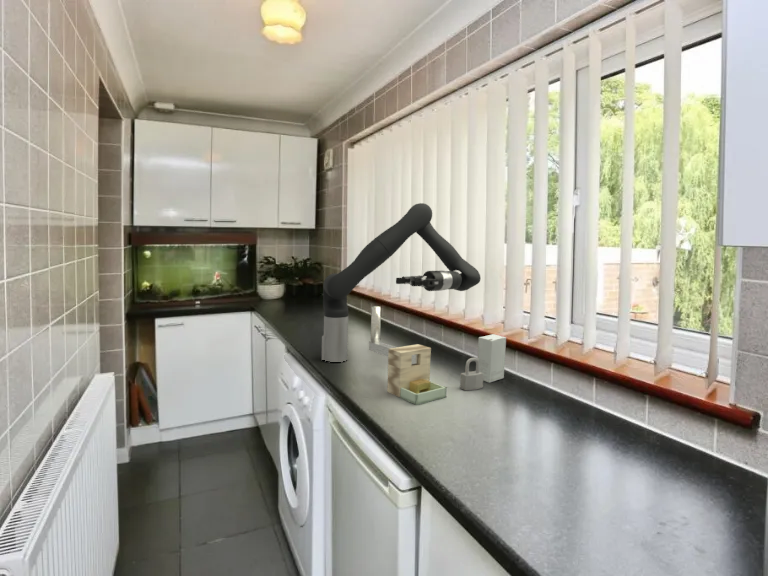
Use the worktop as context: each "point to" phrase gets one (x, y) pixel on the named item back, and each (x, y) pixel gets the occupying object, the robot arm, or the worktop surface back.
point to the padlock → (471, 377)
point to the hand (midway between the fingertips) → (404, 282)
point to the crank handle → (375, 336)
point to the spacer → (420, 386)
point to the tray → (424, 394)
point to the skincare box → (491, 357)
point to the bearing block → (407, 367)
